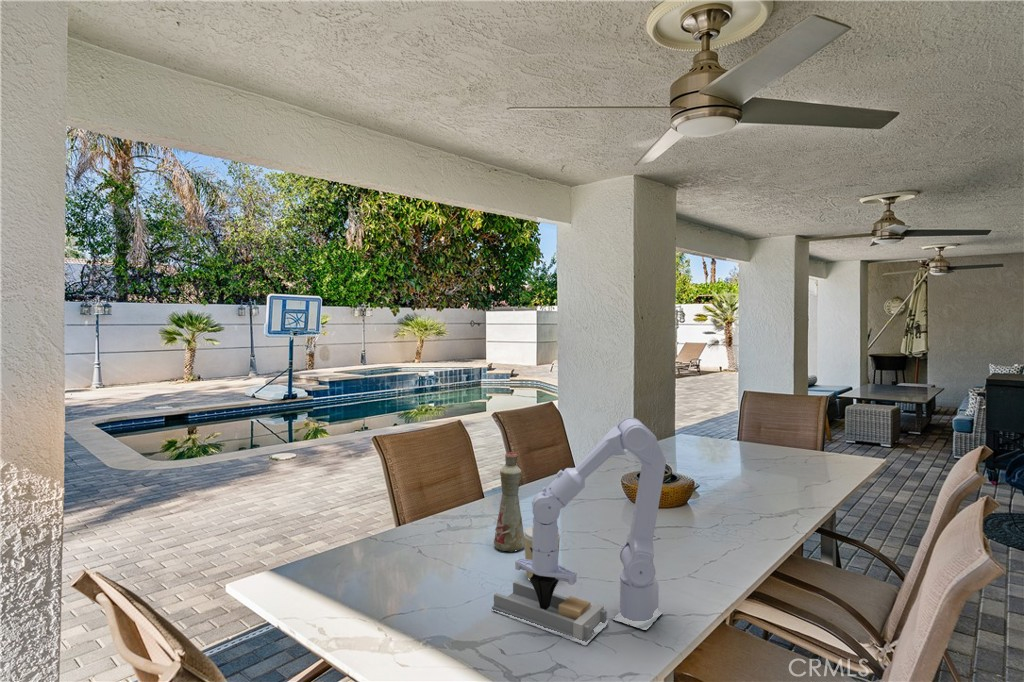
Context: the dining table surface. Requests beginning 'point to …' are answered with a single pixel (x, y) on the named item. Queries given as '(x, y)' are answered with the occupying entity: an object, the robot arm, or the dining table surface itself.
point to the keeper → (573, 608)
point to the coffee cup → (528, 546)
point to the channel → (548, 612)
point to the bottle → (509, 508)
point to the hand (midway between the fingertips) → (545, 607)
